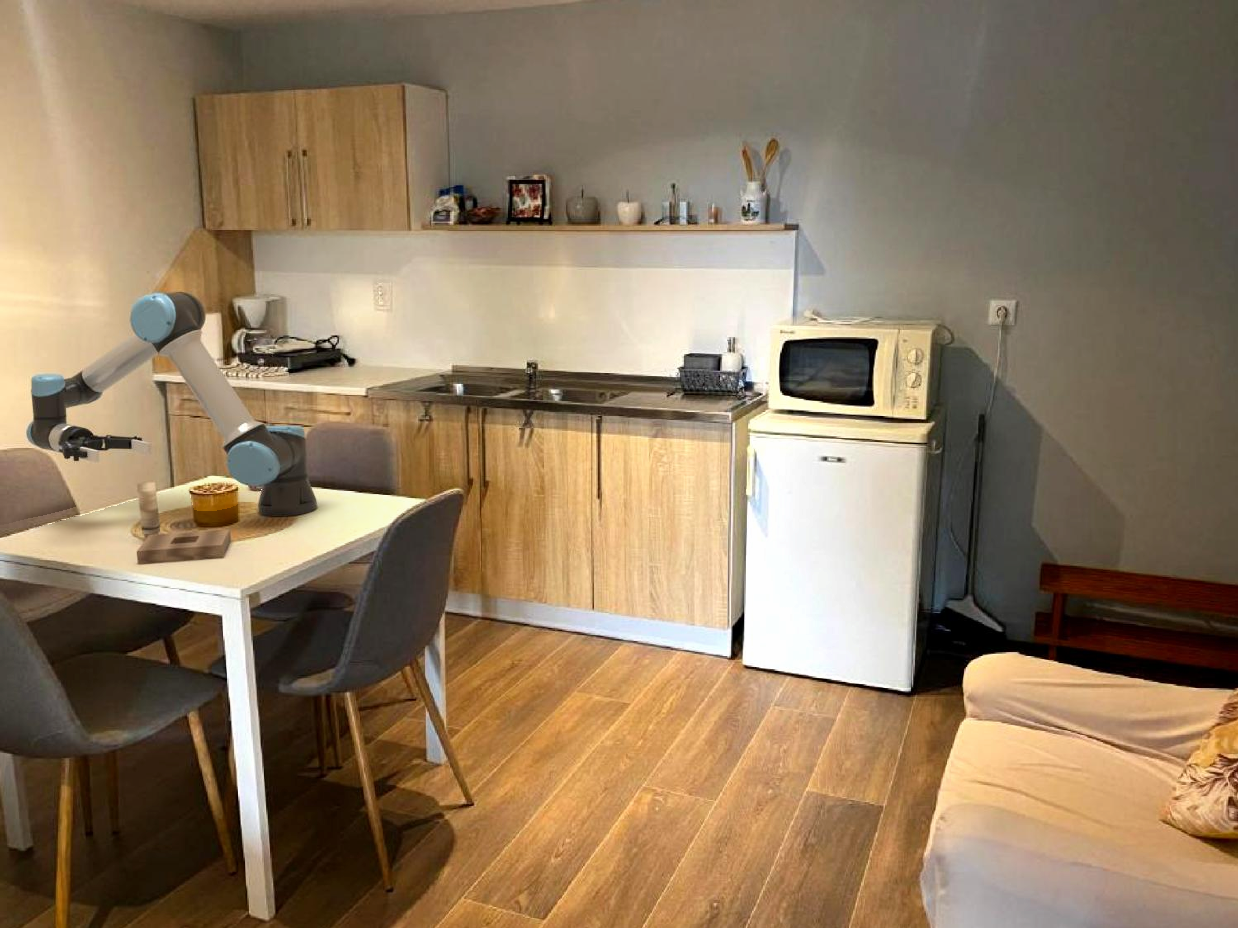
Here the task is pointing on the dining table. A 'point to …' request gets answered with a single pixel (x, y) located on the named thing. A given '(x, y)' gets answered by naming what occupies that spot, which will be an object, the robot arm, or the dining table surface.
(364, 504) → the dining table surface
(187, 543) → the board
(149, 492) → the peg
